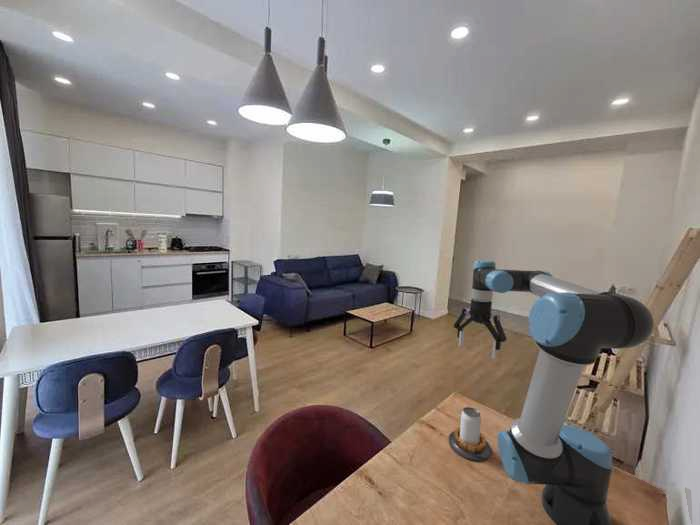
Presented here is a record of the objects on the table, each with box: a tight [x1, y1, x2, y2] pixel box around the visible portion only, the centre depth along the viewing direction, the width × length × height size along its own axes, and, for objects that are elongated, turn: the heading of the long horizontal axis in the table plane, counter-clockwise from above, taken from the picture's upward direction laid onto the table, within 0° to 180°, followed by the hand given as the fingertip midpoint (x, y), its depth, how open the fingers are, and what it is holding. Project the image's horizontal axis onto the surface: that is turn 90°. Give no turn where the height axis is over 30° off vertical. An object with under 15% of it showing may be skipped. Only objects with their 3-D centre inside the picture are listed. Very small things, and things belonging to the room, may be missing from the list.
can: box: [460, 406, 482, 445], centre depth 103 cm, size 6×6×12 cm
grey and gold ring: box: [448, 426, 492, 462], centre depth 104 cm, size 14×14×4 cm
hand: (476, 351), depth 116 cm, fingers open, 13 cm apart
